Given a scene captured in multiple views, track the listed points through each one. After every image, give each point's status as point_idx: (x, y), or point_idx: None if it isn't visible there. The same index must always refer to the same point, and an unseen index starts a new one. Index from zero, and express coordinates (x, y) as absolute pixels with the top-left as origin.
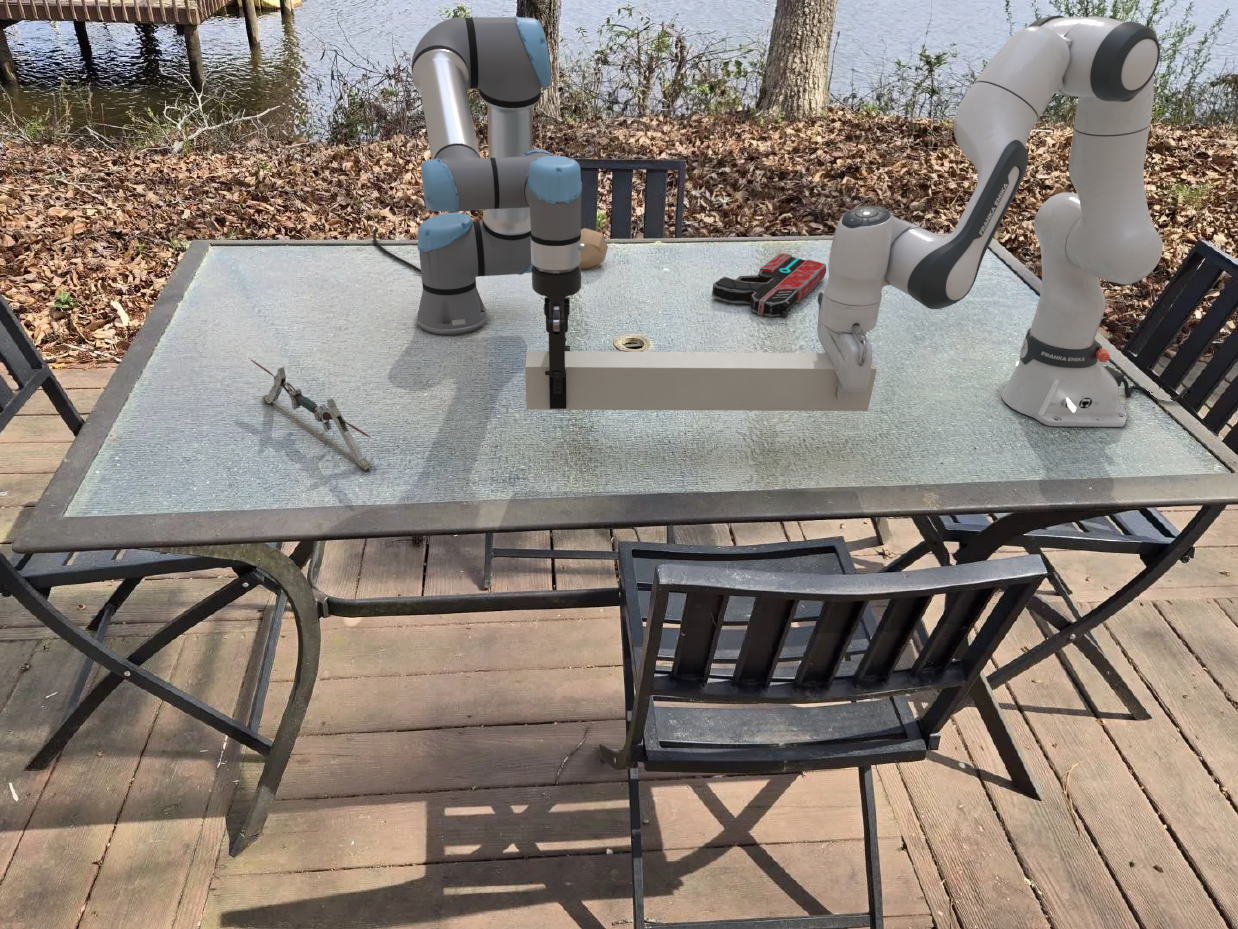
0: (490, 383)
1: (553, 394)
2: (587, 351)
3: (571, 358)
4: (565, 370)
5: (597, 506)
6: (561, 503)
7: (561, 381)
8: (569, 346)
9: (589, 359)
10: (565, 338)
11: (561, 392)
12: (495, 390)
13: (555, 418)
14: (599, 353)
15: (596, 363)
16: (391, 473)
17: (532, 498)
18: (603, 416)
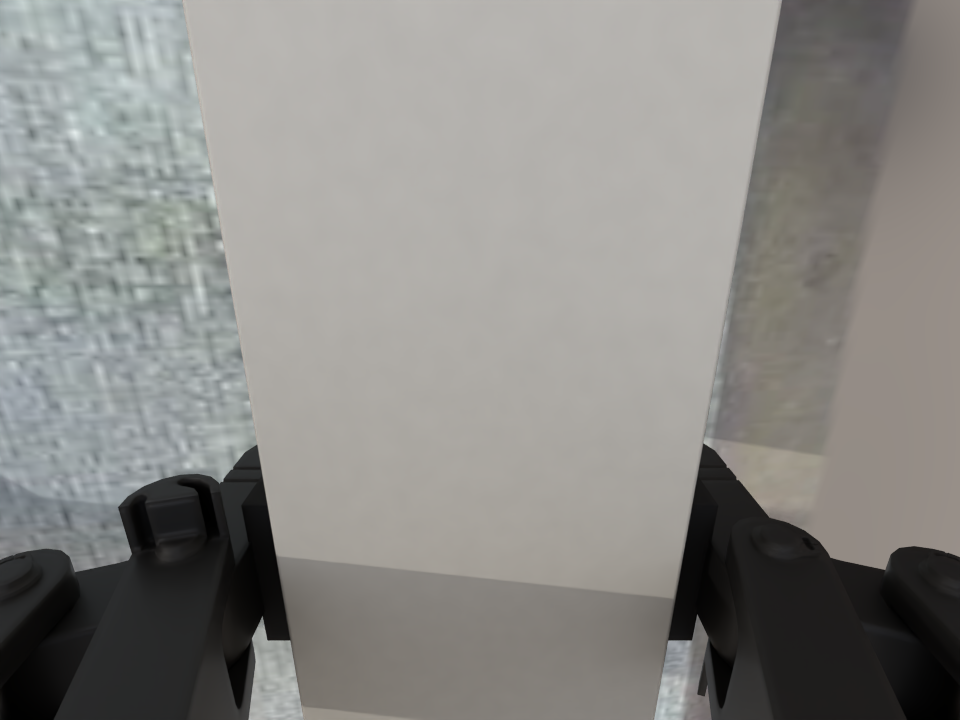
0: (29, 531)
1: None
2: (235, 286)
3: (464, 486)
4: (799, 552)
5: (811, 157)
6: (766, 286)
7: (763, 512)
8: (134, 507)
9: (497, 260)
10: (15, 606)
11: (703, 449)
12: (72, 514)
13: (218, 315)
14: (274, 88)
15: (636, 150)
16: None
17: (721, 376)
18: (164, 115)
